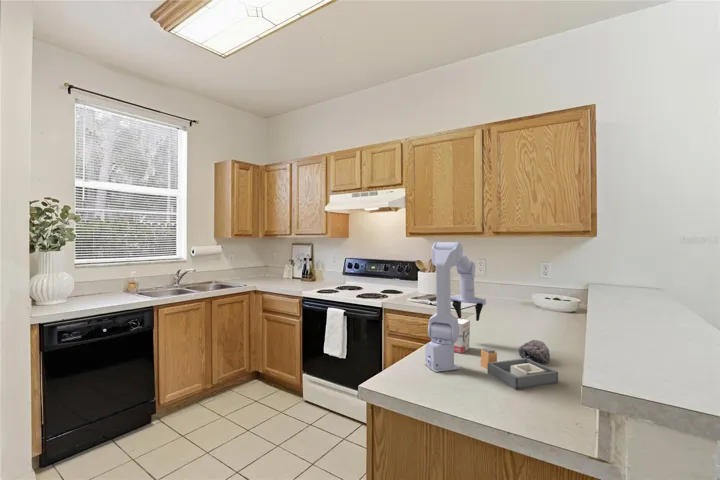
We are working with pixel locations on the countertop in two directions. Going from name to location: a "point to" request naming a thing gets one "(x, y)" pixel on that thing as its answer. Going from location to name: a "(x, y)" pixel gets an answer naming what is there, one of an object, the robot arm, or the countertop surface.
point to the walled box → (522, 373)
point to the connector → (488, 357)
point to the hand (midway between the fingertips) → (468, 318)
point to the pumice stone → (535, 351)
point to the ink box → (462, 336)
